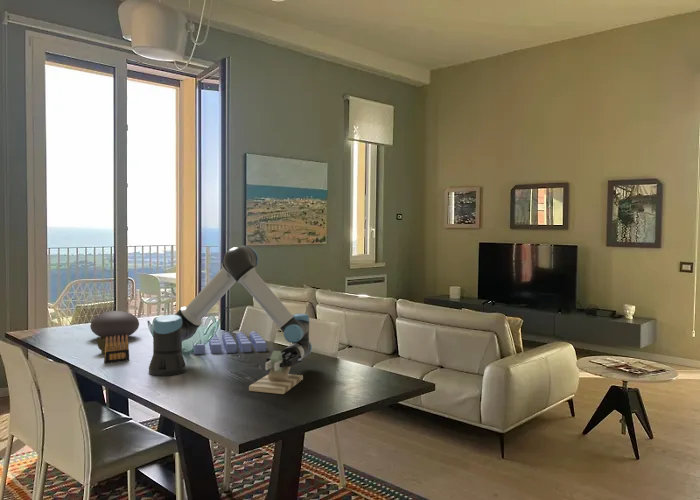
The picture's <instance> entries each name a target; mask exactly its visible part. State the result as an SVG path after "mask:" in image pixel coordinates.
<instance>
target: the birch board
mask: <svg viewBox="0 0 700 500" xmlns="http://www.w3.org/2000/svg"><path fill="white" fill-rule="evenodd" d="M268 375H269V373H268V374H266V375H265V376H263V377H261V378H259V379H258V380H257V381H255V382H253V383H252V384H250V385H249V386H248V391H249V392H258V393H259V392H260V393H271V394H279V395H284V394H286V393H287V392H288V391H290V390H291V389H292V388H293V387H295V386H296V385H298V384H299V383H300V382H302V381H303V380H304V375H303V374H294V373H288V376H287V379H286V381H282V380H271V379H269V377H268ZM301 380H302V381H301Z"/></svg>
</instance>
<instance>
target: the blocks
mask: <svg viewBox="0 0 700 500" xmlns="http://www.w3.org/2000/svg"><path fill="white" fill-rule="evenodd" d="M235 338H236V340H235V339H234V337H233V336H232V334H231V333H229V332H227V331H226V332H224V333H223V334H222V336H221V339H222V342H223V346H224V350H225V353H227V354H230V353H231V354H232V353H233V354H234V353H237V348H238V347H239V349H240V352H241V353H252V346H253V348H254V349H255V352H267V342H266V341H265V340H264V338H263V337H262V336H261V335H260V334H259V333H258V332H256V331H251V332H250V333H249V337H248V336H247V335H245V333H244V332H242V331H239V332H237V333H236V334H235ZM236 341H237V342H236ZM208 344H209V350H210V354H222V343H221V340H220V338H219V337H218V335H217V333H215V336H214V337H213V338H212V339H211V340H210V341H209V340H208ZM237 344H238V347H237ZM205 351H206V345H205V342H204V343H201V344H197V345H194V344H193V353H194V355H203V354H205V353H206V352H205Z"/></svg>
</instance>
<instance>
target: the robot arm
mask: <svg viewBox="0 0 700 500" xmlns="http://www.w3.org/2000/svg"><path fill="white" fill-rule="evenodd" d="M258 264H259V254H258V253H257V252H256V250H255V249H254V248H252V247H251V246H248V245H240V246H233V247H230V249H228V250H227V251H226V252H225V254H224V257H223V262H222V263H221V269H220V270H219V271H218V272H217V273H216V274H215V275H214V277H213V278H211V280H210V281H209V282H208V283H206V285H205V286H204V287H203V288H202V289H201V290H200V291H199V293H197V295H196V296H195V297H194V298H193V299H192V300H191V301H190V303H189V304H188V305H187V306H182V307H180V309H179V310H178V311H176V312H175V314H165V315H161V316H158V317H156V318H154V320H153V325H152V331H153V332H152V337H153V339H152V341H153V342H152V343H153V345H152V347H153V350H152V352H153V354H152V357H151V360H150V362H149V366H148V374H150V375H152V376H156V377H157V376H158V377H159V376H161V377H164V376H165V377H169V376H176V375H181V374H183V373H185V372H187V371H186V370H187V364H186V362H185V359H184V356H183V342H184V341H187V340H189V339H191V338H192V337H194V336H195V335H196V334H197V330H198V329H199V327H200V326H201V325H202V323H203V322H202V321H203V320H202V319H203V318H204V317H205V316H206V315H207V314H208V313H209V312H210V311H211V309H213V307H214V306H215V305H216V304H217V303H218V302H219V301H220V300H221V298H222V297H223V296H224V295H226V293H227V292H228V291H229V290H230V289H231V287H232V286H233V285H235V283H237V284H241V285H242V286H243V287H244V288H245V289H246V291H247V292H248V293H249V294H250V296H251V297H253V299H254V300H255V301H256V302H257V304H259V306H260V307H261V309H263V310H264V312H266V314H267V315H268V316H269V317H270V319H271V320H272V321H273V323H275V324H276V326H277V327H278V328H279V329H280V330H281V332H283V338H284V340H285V341H287V342H288V343H290V345H288V346H287V347H284V349H282V351H281V354H282V357H283V360H280V361H278V362H277V363H275V364H274V371H277V370H278V369H280V368H282V367H286V366H287V365H288V367H291V368H292V367H293V366H295V365H297V364H299V363H302V360H303V359H304V358H306V357H307V356H309V355H310V354H311V352H312V351H313V345H312V343H311V342H310V317H309V315H308V314H307V313H294V314H292V312H290V310H288V308H287V307H286V306H285V305H284V303H282V301H281V300H280V299H279V298H278V296H277V295H276V294H275V292H273V290H272V289H271V288H270V287H269V285H267V283H266V282H265V281H264V280H263V279H262V278H261V276H260V275H259V274H258V273H257V271H256V268H257V266H258ZM270 358H271V355H270V356H268V357H266V359H265V361H266V362H264V363H265V369H264V370H265V371H268V370H271V368H272V367H273V365H272V362H271V359H270Z"/></svg>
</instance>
